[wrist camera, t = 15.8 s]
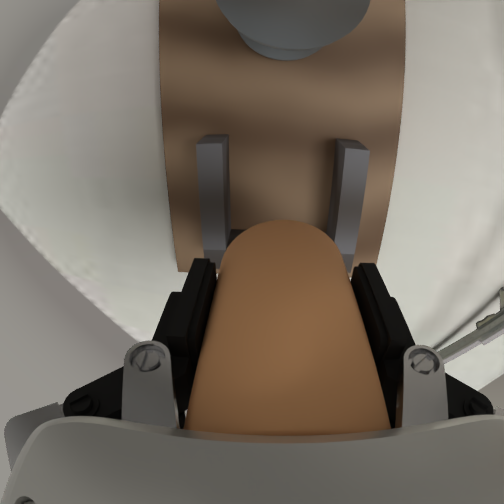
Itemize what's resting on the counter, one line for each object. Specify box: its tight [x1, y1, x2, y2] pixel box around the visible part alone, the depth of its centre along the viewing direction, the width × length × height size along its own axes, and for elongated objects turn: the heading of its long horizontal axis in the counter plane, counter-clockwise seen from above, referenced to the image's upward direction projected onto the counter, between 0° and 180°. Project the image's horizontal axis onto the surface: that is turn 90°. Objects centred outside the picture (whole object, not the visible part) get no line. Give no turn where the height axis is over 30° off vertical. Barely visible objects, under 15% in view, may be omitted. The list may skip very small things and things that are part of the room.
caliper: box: [438, 287, 504, 364], centre depth 28 cm, size 20×1×6 cm, turn 143°
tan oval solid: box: [184, 220, 391, 436], centre depth 9 cm, size 5×5×8 cm
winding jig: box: [159, 0, 406, 277], centre depth 16 cm, size 23×16×10 cm
